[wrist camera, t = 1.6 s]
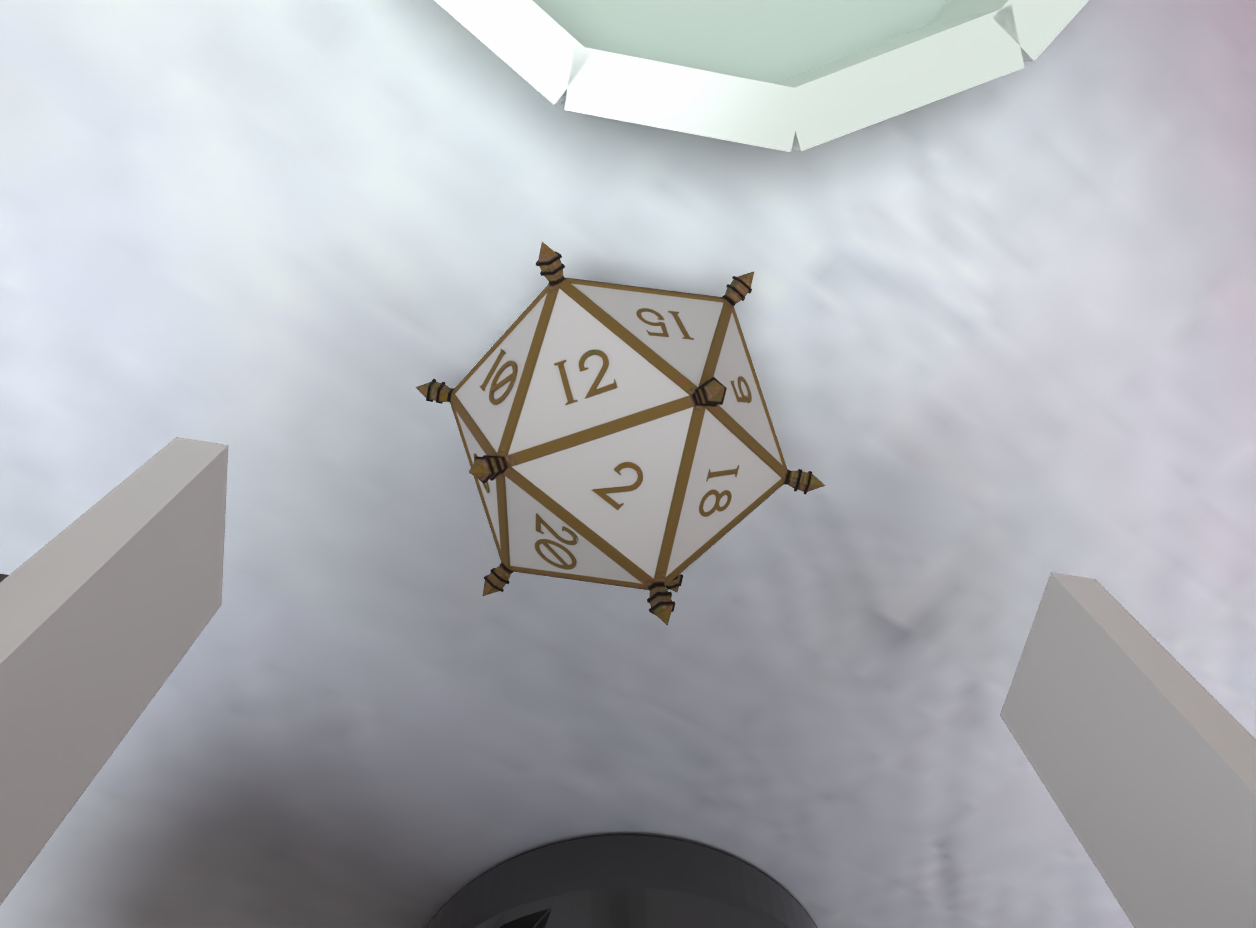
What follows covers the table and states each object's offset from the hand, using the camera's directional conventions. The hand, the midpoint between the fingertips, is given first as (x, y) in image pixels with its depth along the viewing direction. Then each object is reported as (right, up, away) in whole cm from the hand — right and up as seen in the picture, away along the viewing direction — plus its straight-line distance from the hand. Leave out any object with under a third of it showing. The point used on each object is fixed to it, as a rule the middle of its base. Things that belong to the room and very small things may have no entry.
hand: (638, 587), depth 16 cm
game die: (-1, +4, +12) cm, 13 cm away
